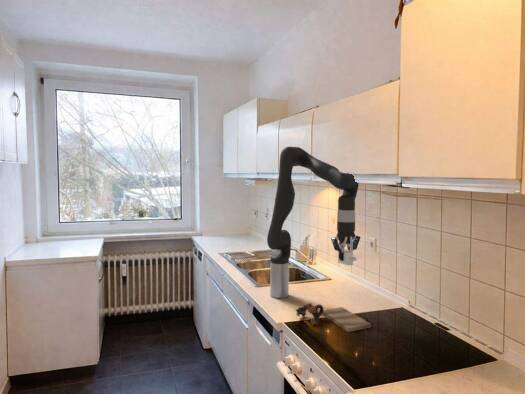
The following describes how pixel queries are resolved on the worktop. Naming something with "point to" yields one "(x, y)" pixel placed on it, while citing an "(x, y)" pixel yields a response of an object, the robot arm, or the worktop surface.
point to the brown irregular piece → (311, 312)
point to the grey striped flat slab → (345, 319)
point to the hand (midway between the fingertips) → (345, 259)
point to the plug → (347, 258)
